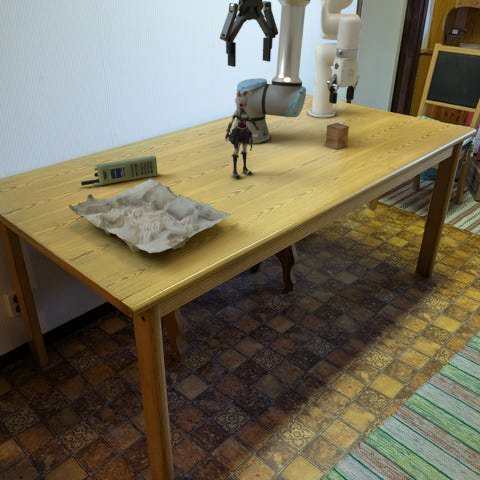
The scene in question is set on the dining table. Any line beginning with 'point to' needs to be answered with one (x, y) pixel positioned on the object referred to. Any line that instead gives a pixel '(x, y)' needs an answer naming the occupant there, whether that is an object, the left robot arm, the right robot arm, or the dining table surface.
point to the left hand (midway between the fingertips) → (249, 63)
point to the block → (337, 135)
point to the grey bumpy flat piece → (149, 216)
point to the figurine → (241, 131)
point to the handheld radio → (124, 170)
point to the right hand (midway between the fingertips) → (341, 101)
